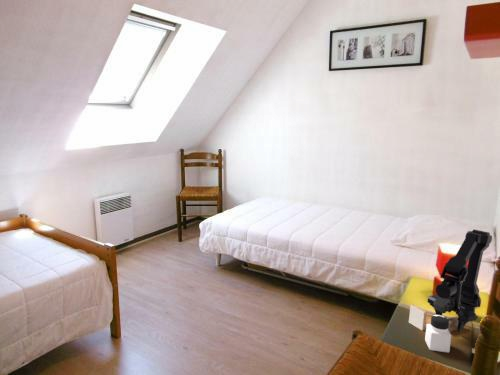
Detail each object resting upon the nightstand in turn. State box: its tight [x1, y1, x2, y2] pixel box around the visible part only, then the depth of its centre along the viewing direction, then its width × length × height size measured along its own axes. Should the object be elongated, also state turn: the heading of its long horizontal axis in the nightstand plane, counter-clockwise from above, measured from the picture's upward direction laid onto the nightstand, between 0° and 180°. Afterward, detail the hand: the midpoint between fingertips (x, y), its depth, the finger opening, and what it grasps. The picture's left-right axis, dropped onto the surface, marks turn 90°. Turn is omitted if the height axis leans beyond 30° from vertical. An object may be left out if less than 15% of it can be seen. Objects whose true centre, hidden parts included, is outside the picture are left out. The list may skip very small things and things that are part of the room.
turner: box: [447, 315, 459, 333], centre depth 154 cm, size 16×5×4 cm, turn 114°
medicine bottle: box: [424, 314, 453, 353], centre depth 141 cm, size 7×7×12 cm
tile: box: [408, 304, 428, 331], centre depth 156 cm, size 2×7×8 cm, turn 24°
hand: (448, 326), depth 154 cm, fingers open, 9 cm apart
